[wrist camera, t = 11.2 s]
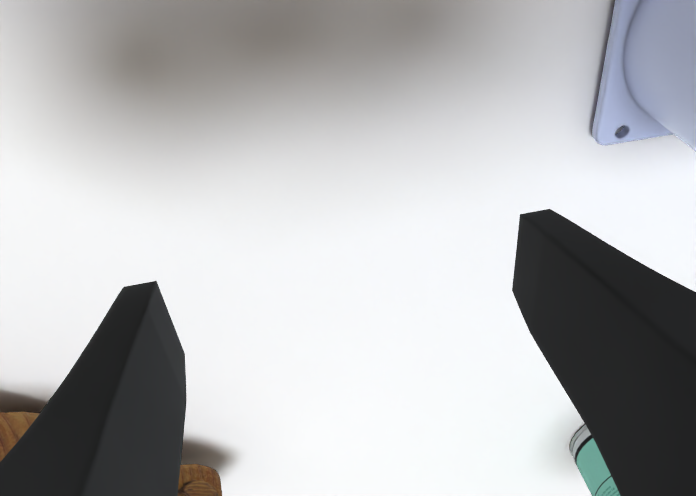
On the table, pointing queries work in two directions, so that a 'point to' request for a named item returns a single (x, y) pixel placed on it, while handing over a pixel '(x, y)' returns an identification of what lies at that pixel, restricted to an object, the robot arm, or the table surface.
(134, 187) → the table surface
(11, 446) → the wooden carving
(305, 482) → the table surface
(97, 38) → the table surface
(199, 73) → the table surface
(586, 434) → the spray can
